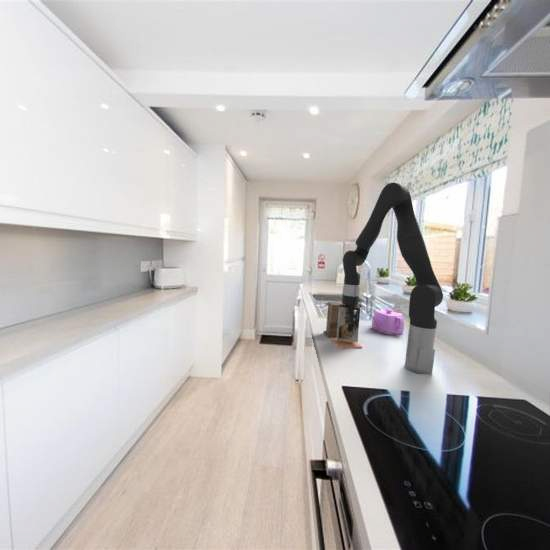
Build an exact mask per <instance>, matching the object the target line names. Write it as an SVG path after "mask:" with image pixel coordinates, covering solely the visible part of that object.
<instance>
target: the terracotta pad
mask: <svg viewBox="0 0 550 550" xmlns="http://www.w3.org/2000/svg"><path fill="white" fill-rule="evenodd" d="M330 340H331V342H333V343H335V344H336V345H335V344H334V345H335V346H336V347H337V348H339V349H363V346H362V345H361V344H360V343H358V342H347V341H338V340H337V338H330Z"/></svg>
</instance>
